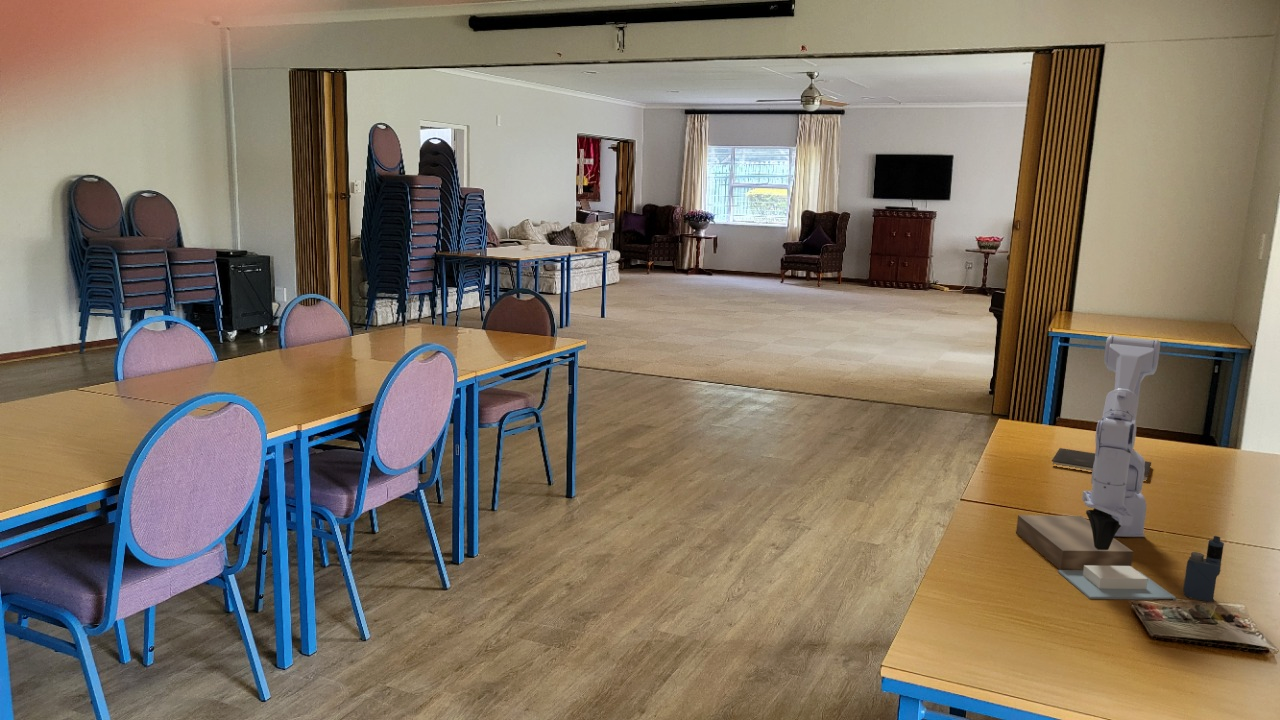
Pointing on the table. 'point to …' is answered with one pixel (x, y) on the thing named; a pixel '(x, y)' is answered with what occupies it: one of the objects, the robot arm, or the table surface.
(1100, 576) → the white flat block
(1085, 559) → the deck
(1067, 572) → the mat
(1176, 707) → the table surface
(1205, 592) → the vaping device
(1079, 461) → the hardcover book
